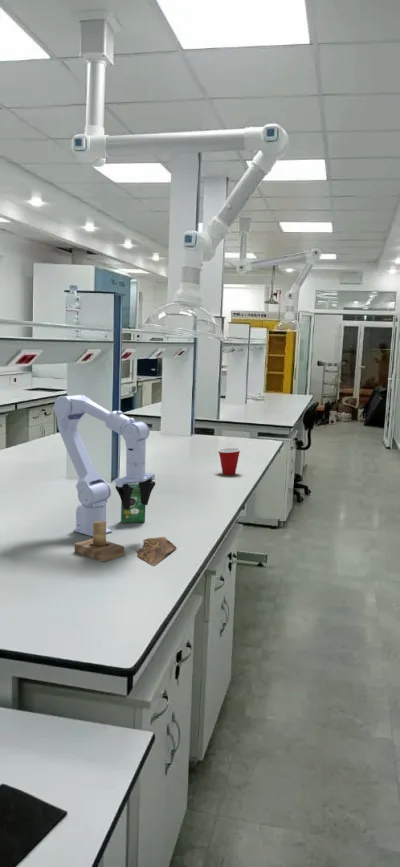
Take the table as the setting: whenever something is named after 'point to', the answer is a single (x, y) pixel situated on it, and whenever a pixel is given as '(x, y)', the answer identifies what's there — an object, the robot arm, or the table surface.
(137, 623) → the table surface
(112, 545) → the board
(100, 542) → the peg
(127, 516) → the coffee box
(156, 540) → the wooden fragment
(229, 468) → the plastic cup
